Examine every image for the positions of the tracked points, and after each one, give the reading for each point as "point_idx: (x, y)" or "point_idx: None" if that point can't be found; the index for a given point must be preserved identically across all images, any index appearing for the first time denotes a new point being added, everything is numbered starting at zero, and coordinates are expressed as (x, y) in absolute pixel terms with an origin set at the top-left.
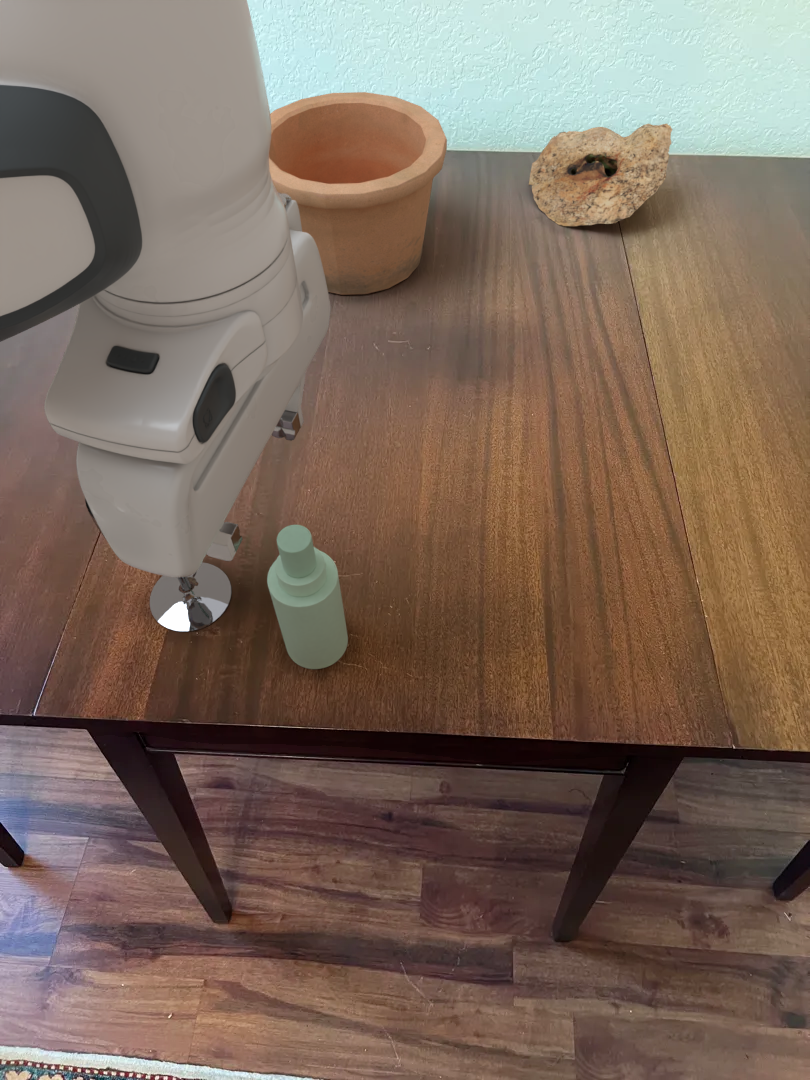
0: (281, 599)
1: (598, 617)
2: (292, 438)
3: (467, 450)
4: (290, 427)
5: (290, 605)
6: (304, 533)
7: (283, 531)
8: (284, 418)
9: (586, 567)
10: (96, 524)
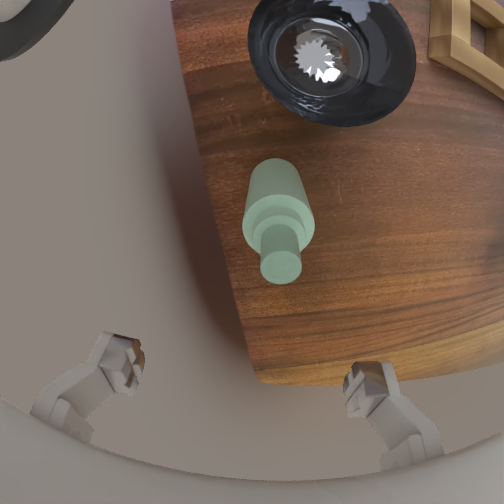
0: (247, 215)
1: (314, 332)
2: (344, 384)
3: (440, 258)
4: (347, 404)
5: (242, 225)
6: (289, 277)
7: (289, 255)
8: (356, 412)
9: (347, 325)
10: (263, 2)
